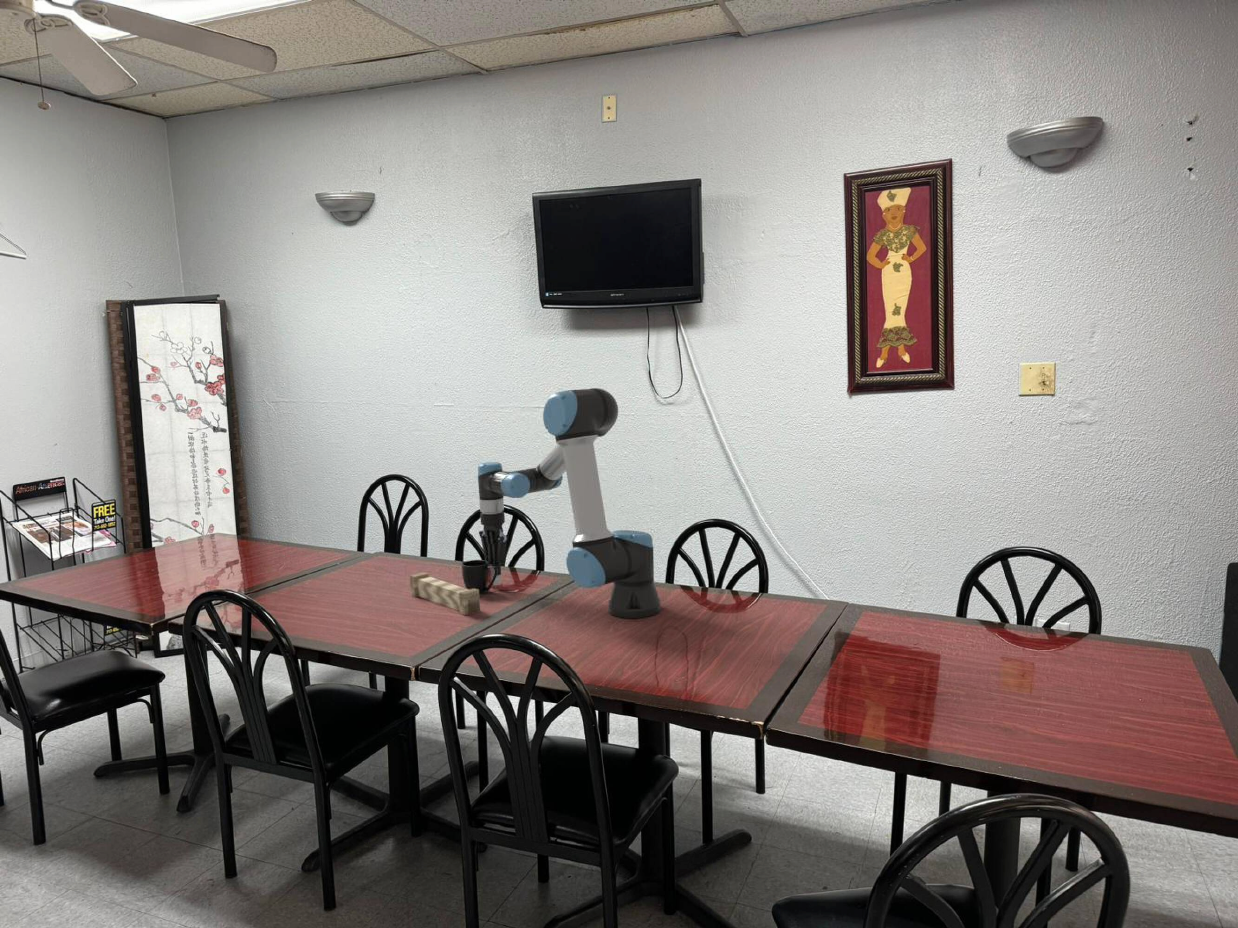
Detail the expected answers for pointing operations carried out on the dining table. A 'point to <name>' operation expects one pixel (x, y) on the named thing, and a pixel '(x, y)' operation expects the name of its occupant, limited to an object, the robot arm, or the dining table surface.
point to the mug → (477, 575)
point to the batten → (445, 593)
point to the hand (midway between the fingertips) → (496, 584)
